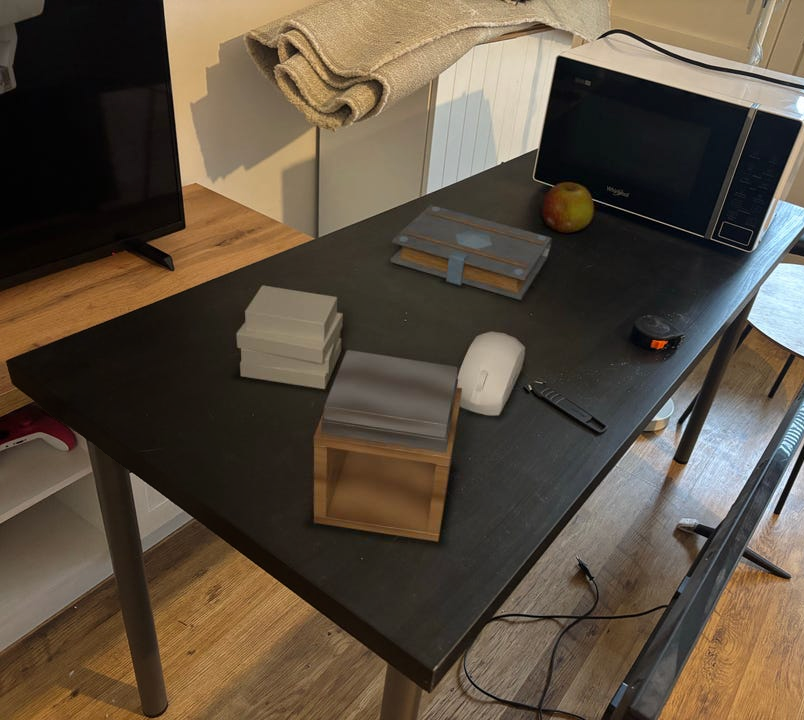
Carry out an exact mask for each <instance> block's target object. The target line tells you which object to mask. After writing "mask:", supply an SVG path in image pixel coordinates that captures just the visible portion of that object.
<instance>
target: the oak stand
mask: <svg viewBox="0 0 804 720" xmlns="http://www.w3.org/2000/svg"><path fill="white" fill-rule="evenodd" d="M458 371H459V367H458V366H453V365H448V364H441V363H434V362H428V361H422V360H415V359H409V358H403V357H395V356H390V355H383V354H377V353H371V352H363V351H358V350H350V349H346V351H345V354H344V357H343V359H342V362H341V364H340V366H339V369H338V371H337V374H336V376H335V378H334V381H333V383H332V386H331V389H330V391H329V393H328V396H327V398H326V400H325V403H324V406H323V413H322V414H321V415H322V416H321V418H320V420H319V421H318V425H317V427H316V430H315V432H314V435H313V523H314V524H321V525H327V526H334V527H340V528H346V529H352V530H359V531H366V532H373V533H379V534H385V535H391V536H392V535H393V536H399V537H405V538H412V539H418V540H424V541H425V540H426V541H431V542H437V543H438V542H439V539H440V533H441V527H442V521H443V516H444V510H445V503H446V496H447V490H448V485H449V479H450V474H451V473H450V472H451V468H452V467H451V466H452V459H453V453H454V446H455V440H456V433H457V428H458V427H457V426H458V421H459V420H458V419H459V413H460V408H461V407H460V400H461V394H462V388H457V385H458V379H457V377H458Z"/></svg>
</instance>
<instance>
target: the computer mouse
mask: <svg viewBox="0 0 804 720" xmlns="http://www.w3.org/2000/svg"><path fill="white" fill-rule="evenodd" d="M525 354H526V346H524V344H522V343H521V341H520V340H518V339H517V337H514V336H512V335H508V334H507V333H504V332H497V331H492V330H491V331H487V332H484V333H480V334H478V335H476V336H475V337H474V339H473V340H472V343H471V344H470V346H469V347H468V349H467V352H466V353H465V356H464V359H463V361H462V363H461V366H460V368H459V369H458V373H457V377H456V378H457V379H458V385H457V388H462V394H461V400H460V407H459V408H462V409H464V410H467V411H470V412H473V413H476V414H479V415H480V414H482V415H485V416H500V414H501V412H502V411H503V409H504V407H505V405H506V403H507V401H508V399H509V398H510V396H511V393H512V391H513V389H514V386H515V384H516V382H517V380H518V377H519V376H520V373H521V372H522V369H523V365H524V360H525Z"/></svg>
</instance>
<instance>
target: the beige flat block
mask: <svg viewBox="0 0 804 720" xmlns="http://www.w3.org/2000/svg"><path fill="white" fill-rule="evenodd" d="M337 313H338V297H337V296H331V295H327V294H320V293H313V292H306V291H299V290H293V289H287V288H281V287H276V286H275V287H274V286H269V285H268V286H267V285H261V287H260V288H259V289H258V291H257V293H256V294H255V296H254V297H253V299H252V300H251V302H250V303H249V305H248V306H247V307H246V309H245V310H244V316H245V318H244V319H245V321H246V330H252V331H258V332H265V333H271V334H277V335H284V336H290V337H297V338H303V339H310V340H316V341H322V342H324V341H325V339H326V337H327V335H328V332H329V330H330V328H331V326H332V324H333V322H334V319H335V317H336V315H337Z"/></svg>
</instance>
